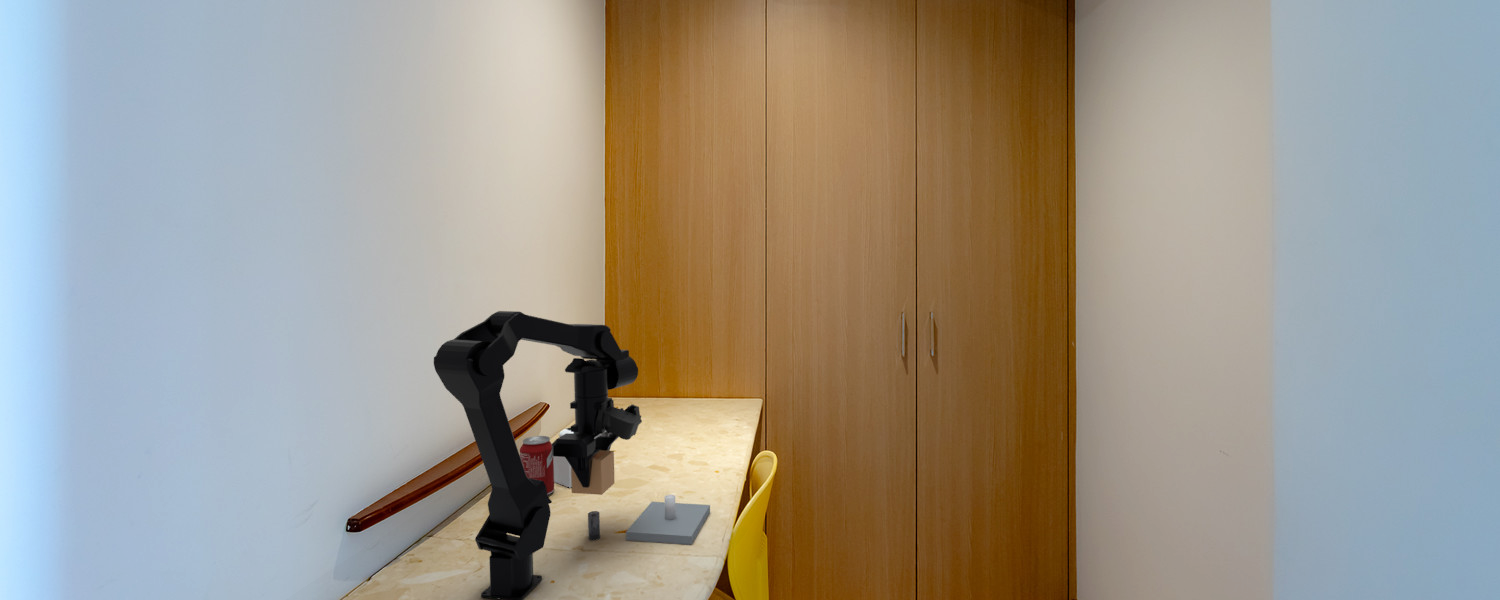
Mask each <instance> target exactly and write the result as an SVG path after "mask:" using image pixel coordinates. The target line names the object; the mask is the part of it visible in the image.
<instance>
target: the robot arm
mask: <svg viewBox="0 0 1500 600" xmlns="http://www.w3.org/2000/svg"><path fill="white" fill-rule="evenodd" d="M521 340H522V341H527V342H532V343H538V344H545V345H549V346H555V347H558V348H560V349H561V351H563V352H565V353H567V354H569V355H572V356H576V357H577V358H575V357H574V358H573V359H572V361H570V363H569V364H567V366H566V367H565V368H564V372H565V373H571V374H573V379H574V380H573V381H574V382H573V384H574V387H573V388H574V390H573V391H574V400H573V401H571V402H570V403H569V406H570V407H569V408H570V409H573V410H574V421H575V423H574V424H571V425H570V428H571V432H578V434H568V433H566V434H564V435H563V436H561V437H558V438H556V439H555V440H554V441H553V442H551V443H552V456H557V457H565V458H566V459H567V461H568V462H569V464H570V465H571V467H572V469H573V470H574V472H575V474H576V476H577V478H578V479H579V481H580V483H581V485H582V487H585V488H588V487H589V486H590V479H591V469H592V460H593V457H594V456H595V455H596V454H597V453H598V452H599V451H600V450H605V451H611V448H612V445H613V443H614V442H616V441H617V440H618V439H619V438H620V439H621V440H627V441H628V440H630V439H631V438H632V437H633V436H635V435H636V434H637V430H638V427H639V425H640V424H641V423H643V422H642V415H641V414H640V413H641V412H640V407H639V406H638V405H635V404H631V405H628V406H627V407H626V408H625V409H624V408H623V407H621V408H618V407H615V404H614V399H613V397H609V391H610V390H614V389H618V388H620V387H625V386H627V385H631V384H633V383H634V382H635V381H636V380H637V379H638V376H639V368H638V366H637V363H636V361H635V360H634V359H633V358H632V357H631V356H630V350H628V349H621V348H620V346H619V345H618V343H617V340H616V339H615V337H614V335H613V334H612V332H611V328H610V327H609V326H607V324H591V323H590V324H588V323H586V324H585V323H564V322H561V321H560V322H559V321H555V320H552V319H547V318H542V317H538V316H532V315H528V314H525V313H523V312H522V311H511V310H510V311H507V310H506V311H505V310H498V311H496V312H494V313H492V314H490V315H489V317H487V318H486V319H485V320H484V321H482V322H480V323H478V324H476V325H475V326H472V327H470V328H468V329H467V330H464V331H463V332H461V333H460V334H459V335H457V336H455V338H453V339H450V340H448V341H445V342H444V343H443V344H442V345H440V347H439V348H438V350H437V352H436V355H434V357H433V366H434V370H435V372H436V374H437V376H438V378H439V379H440V381H441V383H442V385H443V386H444V388H445V389H446V391H448V392H449V394H451V395H452V396H453V397H454V398H455V399H456V400H457V401H459V403H460V404H461V405H462V407H463V408H464V412H465V415H466V418H467V420H468V424H469V426H470V428H471V432H472V435H473V437H474V440H475V443H476V446H477V448H478V451H479V454H480V457H481V459H482V462H483V466H484V468H485V470H486V474H487V478H488V479H489V482H490V486H491V491H490V494H489V497H488V501H487V507H488V508H487V509H488V513H489V515H488V516H487V518H486V520H485V521H484V523H483V525H482V527H481V528H480V530H479V531H478V533H477V535H476V537H475V539H474V540H475V543H476V546H477V548H478V549H479V550H481V551H483V550H484V551H486V552H487V551H488V552H490V556H489V559H488V560H489V586H487V588H485V590H483V591H482V592H481V593H480V598H482V597H491V598H500V599H499V600H502V599H510V600H524V598H525V597H526V596H527V595H528V594H529V593H530V592H531V591H532V590H533V589H534V588H535V587H536V586H537V585H538V584H539V583H540V582H541V581H542V580H543V576H542V575H540V574H538V575H537V574H534V557H533V556H534V553H536V552H537V551H539V550H541V549H543V547H544V545H545V541H546V536H547V531H548V527H549V522H550V518H551V514H552V513H551V507H550V505H551V504H552V500H551V498H549V495H547V490H546V485H545V483H544V481H541V480H536V479H531V478H528V477H527V476H526V473H525V470H524V467H523V464H522V461H521V458H520V451H519V449H518V446H517V444H516V440H515V438H514V435H513V434H514V433H513V431H512V428H511V425H510V423H509V419H508V416H507V413H506V409H505V407H504V403H503V401H502V398H501V390H502V387H503V383H504V380H505V370H504V366H505V364H507V362H508V361H509V360H510V359H511V358H512V357H513V356H514V355H515V353H516V350H517V347H518V344H519V342H520V341H521ZM579 357H581V358H579ZM585 359H586V360H585ZM491 598H490V599H491Z"/></svg>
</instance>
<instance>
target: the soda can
mask: <svg viewBox="0 0 1500 600" xmlns="http://www.w3.org/2000/svg"><path fill="white" fill-rule="evenodd" d="M550 440H551V438H550V437H549V436H546V435H536V436H535V435H533V436H530V437H526V438H524V439H523V440H522V445H521V446H520V447H519V455H520V458H521V461H522V464H523V467H524V470H525V473H526V476H527V477H528V478H531V479H536V480H541V481H544V483H545V485H546V490H547V495H548V496H549V495H550V494H551V493H553V492H554V491H555V482H554V459H553V456H552V443H553V442H551V441H550Z"/></svg>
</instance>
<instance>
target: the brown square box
mask: <svg viewBox="0 0 1500 600" xmlns="http://www.w3.org/2000/svg"><path fill="white" fill-rule="evenodd" d="M614 452H615V451H614V450H610V451H605V450H600V451H599V452H598V453H597V454H596V455H595V456H594V457H593V460H592V469H591V479H590V486H589V487H588V488H585V487H582V485H581V483H580V481H579V479H578V478H577V476H576V474H575V472H574V470H573V469H572V467H571V485H572V488H571V494H583V495H585V494H586V495H599V496H602V495H603V494H604V493H606V492H607V491H608V490H609V489H610V488H611V487H612V486H613V485H614V484H615V453H614Z"/></svg>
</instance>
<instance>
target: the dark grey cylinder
mask: <svg viewBox="0 0 1500 600" xmlns="http://www.w3.org/2000/svg"><path fill="white" fill-rule="evenodd" d="M600 514H601V513H600V512H599V511H597V510H595V511H594V510H593V511H589V512H588V513H587V527H588V530H587V531H588V533H587V534H588V536H587V537H588V540H589V541H597V540H600V539H601V526H600V525H601V524H600V523H601V521H600V518H601V517H600Z"/></svg>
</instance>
